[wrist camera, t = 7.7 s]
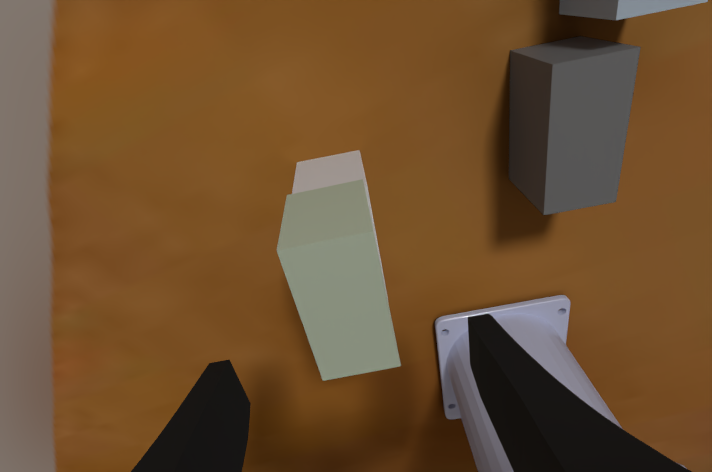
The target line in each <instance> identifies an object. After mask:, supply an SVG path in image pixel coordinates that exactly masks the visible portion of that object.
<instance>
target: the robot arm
mask: <svg viewBox="0 0 712 472" xmlns="http://www.w3.org/2000/svg"><path fill="white" fill-rule="evenodd" d="M559 309H561V310H559ZM558 310H559V311H558ZM569 312H570V300H569V299H568V298H567V297H566V296H565V295H558V296H552V297H547V298H541V299H536V300H530V301H525V302H519V303H513V304H508V305H502V306H497V307H491V308H486V309H480V310H475V311H469V312H463V313H458V314H452V315H447V316H442V317H439V318H438V319H436V321H435V331H436V340H437V349H438V358H439V367H440V376H441V385H442V395H443V404H444V412H445V416H446V418H448V419H459V418H461V419H462V422H463V426H464V429H465V432H466V435H467V438H468V441H469V444H470V448H471V451H472V454H473V457H474V460H475V463H476V467H477V470H478V472H691V471H689V470H688V469H687V468H686V467H685V466H683V465H682V464H679V463H676V462H674V461H672V460H670V459H669V458H667V457H666V456H664V455H662V454H661V453H659V452H658V451H656V450H654V449H653V448H651V447H650V446H648V445H646V444H645V443H643V442H642V441H640V440H638V439H637V438H635V437H634V436H632V435H630V434H629V433H627V432H626V431H625V430H623V429H622V427H621V426H620V424H619V423H618V421H617V420H616V418H615V417H614V415H613V414H612V412H611V411H610V410H609V408H608V407H607V405H606V404H605V402H604V401H603V399H602V398H601V396H600V395H599V393H598V392H597V390H596V389H595V387H594V386H593V384H592V383H591V382H590V380H589V379H588V377H587V376H586V374H585V373H584V371H583V370H582V368H581V367H580V365H579V364H578V362H577V361H576V359H575V358H574V356H573V355H572V353H571V352H570V351H569V349H568V348H567V346H566V338H567V329H568V320H569ZM444 329H447V330H445V331H442V330H444ZM249 418H250V402H249V400H248V398H247V395H246V393H245V391H244V389H243V387H242V385H241V383H240V381H239V379H238V377H237V375H236V373H235V371H234V368H233V366H232V364H231V362H230V360H225V361H220V362H214V363H210V364H209V365H208V366H207V368H206V369H205V371H204V372H203V373H202V375H201V376H200V378H199V379H198V381H197V382H196V384H195V385H194V387H193V388H192V390H191V391H190V393H189V394H188V395H187V397H186V398H185V400H184V401H183V403H182V404H181V406H180V407H179V409H178V410H177V411H176V413H175V414H174V416H173V417H172V418H171V420H170V421H169V423H168V424H167V425H166V427H165V428H164V430H163V431H162V432H161V434H160V435H159V436H158V438H157V439H156V440H155V442H154V443H153V444H152V446H151V447H150V448H149V449H148V451H147V452H146V453H145V455H144V456H143V457H142V459H141V460H140V461H139V462H138V464H137V465H136V466H135V467H134V469H133V470H132V471H131V472H242V467H243V462H244V457H245V451H246V446H247V440H248V431H249Z"/></svg>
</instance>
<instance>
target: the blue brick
mask: <svg viewBox="0 0 712 472" xmlns="http://www.w3.org/2000/svg"><path fill="white" fill-rule="evenodd" d="M704 2H708V0H560V5H559V14H561V15H570V16H580V17H589V18H598V19H608V20H620V19H625V18H630V17H635V16H640V15H645V14H650V13H655V12H660V11H664V10H669V9H674V8H679V7H684V6H689V5H694V4H699V3H704Z"/></svg>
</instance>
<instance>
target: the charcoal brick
mask: <svg viewBox="0 0 712 472" xmlns="http://www.w3.org/2000/svg"><path fill="white" fill-rule="evenodd" d="M639 53H640V47H637V46H632V45H627V44H621V43H616V42H610V41H605V40H599V39H594V38H588V37H583V36H579V37H574V38H569V39H564V40H559V41H554V42H549V43H544V44H539V45H535V46H530V47H525V48H520V49H515V50H510V114H509V180H510V181H511V182H512V183H513V184H514V185H515V186H516V187H517V188H518V189H519V190H520V191H521V192H522V193H523V194H524V195H525V196H526V197H527V198H528V199H529V201H530V202H531V203H532V204H533V205H534V206H535V207H536V208H537V209H538V210H539V211H540V212H541V213H542V214H543V215H548V214H553V213H558V212H564V211H569V210H575V209H580V208H585V207H591V206H596V205H602V204H607V203H612V202H616V198H617V191H618V185H619V179H620V172H621V166H622V160H623V154H624V147H625V141H626V135H627V128H628V122H629V116H630V109H631V103H632V97H633V91H634V84H635V78H636V72H637V65H638V59H639Z"/></svg>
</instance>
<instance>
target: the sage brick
mask: <svg viewBox="0 0 712 472" xmlns="http://www.w3.org/2000/svg"><path fill="white" fill-rule="evenodd" d="M277 253H278V256H279V259H280V261H281V264H282V267H283V270H284V273H285V275H286V278H287V281H288V284H289V287H290V290H291V292H292V295H293V298H294V301H295V304H296V306H297V309H298V312H299V315H300V318H301V321H302V323H303V326H304V329H305V332H306V335H307V337H308V340H309V343H310V346H311V349H312V351H313V354H314V357H315V360H316V363H317V366H318V368H319V371H320V374H321V377H322V380H323V381H325V380H330V379H335V378H341V377H346V376H351V375H357V374H362V373H367V372H373V371H378V370H383V369H388V368H394V367H399V366H401V364H400V359H399V354H398V349H397V344H396V339H395V334H394V329H393V324H392V319H391V314H390V309H389V304H388V299H387V294H386V289H385V285H384V280H383V275H382V270H381V265H380V260H379V255H378V250H377V245H376V241H375V236H374V231H373V226H372V221H371V216H370V211H369V206H368V201H367V197H366V192H365V187H364V182H363V179H361V180H356V181H352V182H347V183H342V184H337V185H333V186H328V187H323V188H318V189H314V190H309V191H304V192H299V193H295V194H290V195H287V198H286V203H285V209H284V214H283V219H282V225H281V230H280V236H279V241H278V246H277Z"/></svg>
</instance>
